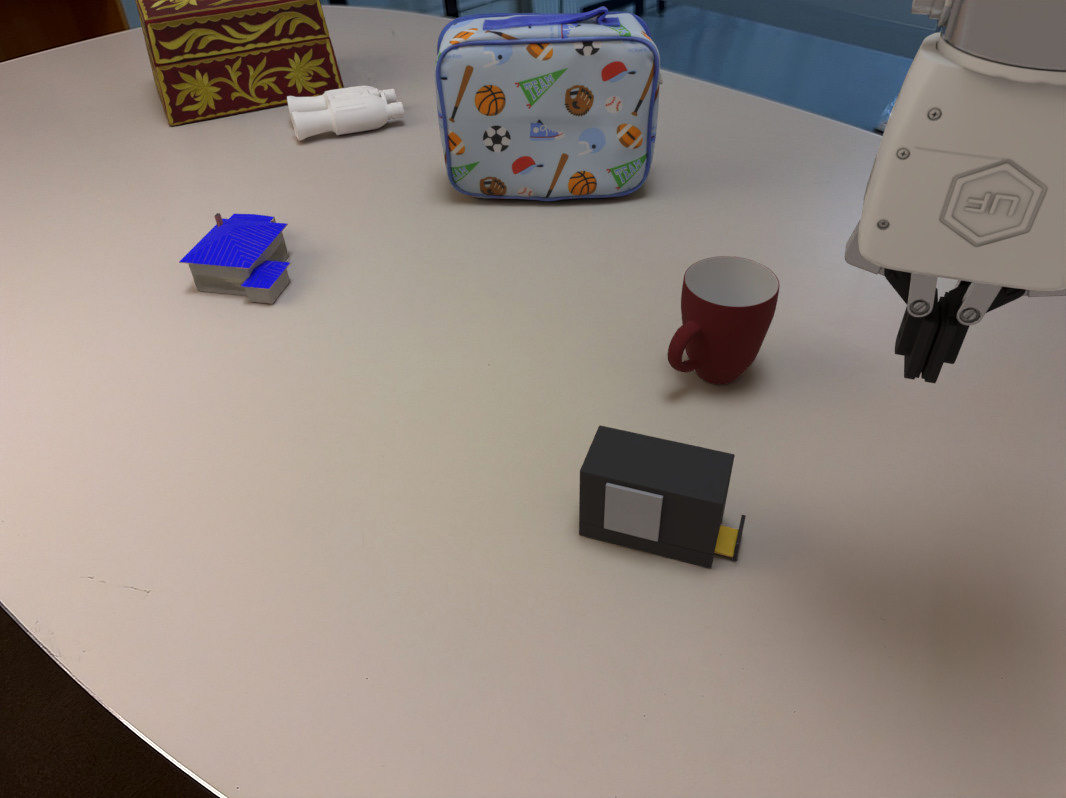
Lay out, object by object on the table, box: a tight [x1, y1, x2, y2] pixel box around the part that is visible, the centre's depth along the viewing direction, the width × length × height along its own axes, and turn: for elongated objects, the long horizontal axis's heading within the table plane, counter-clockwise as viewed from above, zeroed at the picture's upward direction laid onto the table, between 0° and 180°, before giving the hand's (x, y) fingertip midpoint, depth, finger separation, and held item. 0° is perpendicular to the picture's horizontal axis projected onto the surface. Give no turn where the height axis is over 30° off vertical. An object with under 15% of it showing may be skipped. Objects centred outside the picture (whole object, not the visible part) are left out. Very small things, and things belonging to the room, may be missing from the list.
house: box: [178, 212, 291, 305], centre depth 90 cm, size 11×14×6 cm
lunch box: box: [434, 5, 664, 202], centre depth 97 cm, size 28×10×22 cm, turn 92°
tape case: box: [578, 425, 736, 569], centre depth 59 cm, size 10×6×7 cm, turn 70°
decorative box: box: [134, 0, 345, 127], centre depth 129 cm, size 28×19×15 cm
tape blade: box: [714, 514, 747, 562], centre depth 60 cm, size 10×3×2 cm, turn 70°
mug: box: [667, 255, 781, 386], centre depth 71 cm, size 10×8×10 cm
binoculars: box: [287, 84, 405, 141], centre depth 120 cm, size 10×16×5 cm, turn 109°
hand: (919, 365), depth 45 cm, fingers closed
